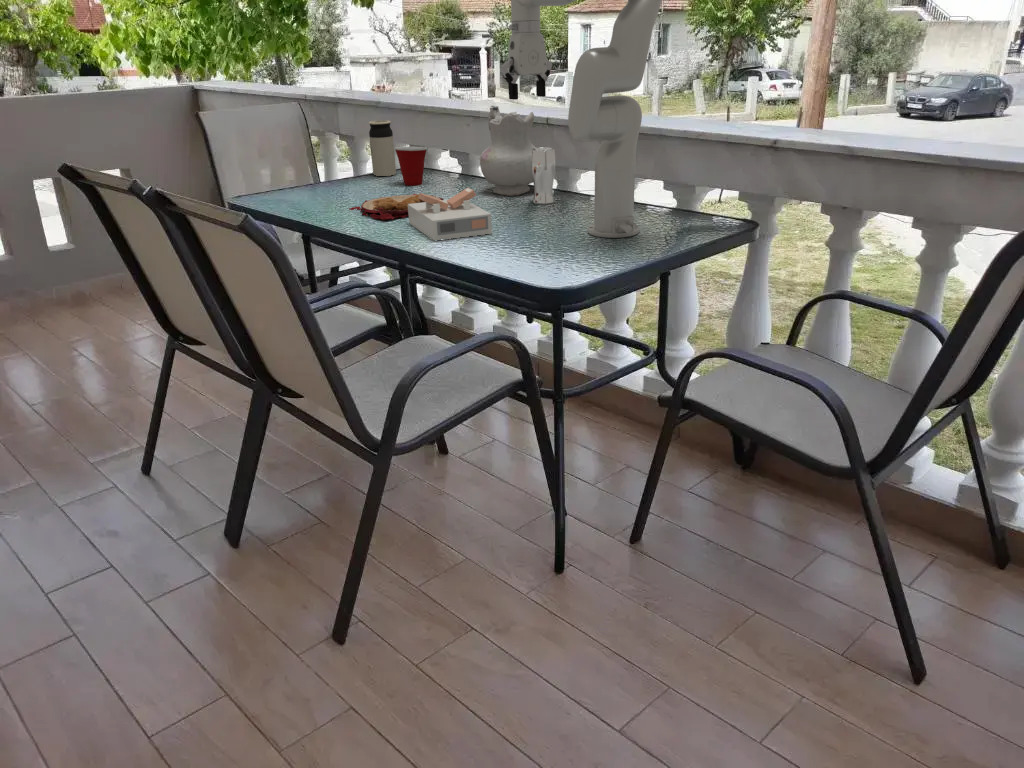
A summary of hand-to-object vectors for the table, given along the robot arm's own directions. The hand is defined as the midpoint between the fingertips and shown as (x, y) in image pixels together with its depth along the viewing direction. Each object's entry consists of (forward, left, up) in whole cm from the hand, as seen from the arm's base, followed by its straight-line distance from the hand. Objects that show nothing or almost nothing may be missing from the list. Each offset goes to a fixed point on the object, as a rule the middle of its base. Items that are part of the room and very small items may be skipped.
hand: (527, 97), depth 214 cm
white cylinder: (+1, -5, -29) cm, 30 cm away
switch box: (-16, +30, -29) cm, 44 cm away
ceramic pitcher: (+22, -3, -29) cm, 37 cm away
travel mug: (+71, +24, -29) cm, 81 cm away
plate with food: (+15, +34, -30) cm, 48 cm away
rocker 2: (-16, +26, -22) cm, 37 cm away
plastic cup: (+49, +20, -29) cm, 61 cm away
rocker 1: (-16, +34, -22) cm, 43 cm away
